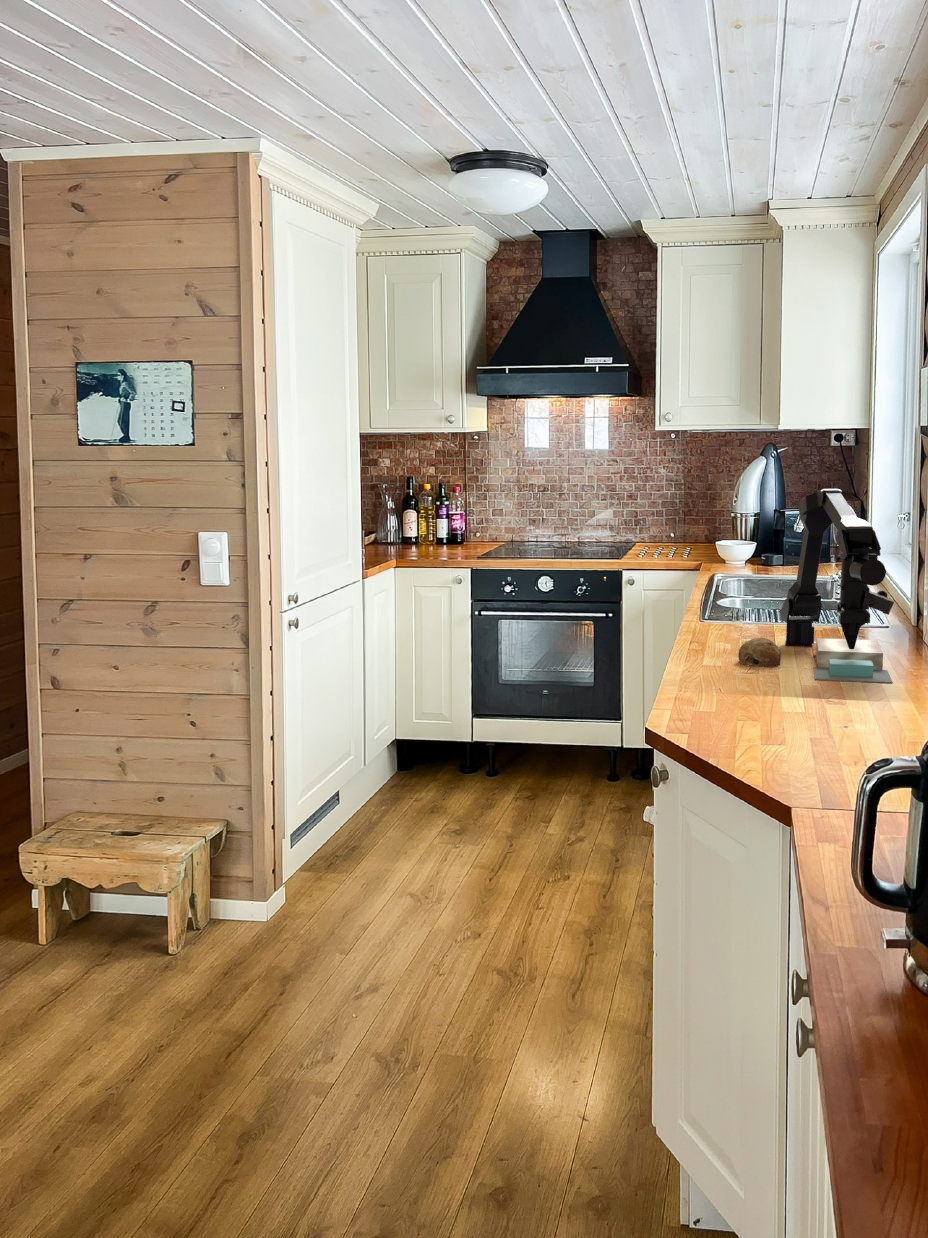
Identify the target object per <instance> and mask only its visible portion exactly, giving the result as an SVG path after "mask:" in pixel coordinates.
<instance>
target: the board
mask: <svg viewBox="0 0 928 1238" xmlns="http://www.w3.org/2000/svg"><path fill="white" fill-rule="evenodd" d="M815 645H816V646H815V647H816V648H815V649H816V650H815V657H816V663H817V667H828V668H829V659H838V660H863V661H872V663H873V669H876V670H883V669H884V668H883V665H884V652H883V649H882V648H881V646H880V644H879V641H878V640H876V639H874V640H873V639H857V640H856V644H855V648H854V649H849V647H848V644H847V642H846V639H845V638H823V637H822V638H819V637H817V638H816V643H815Z"/></svg>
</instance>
